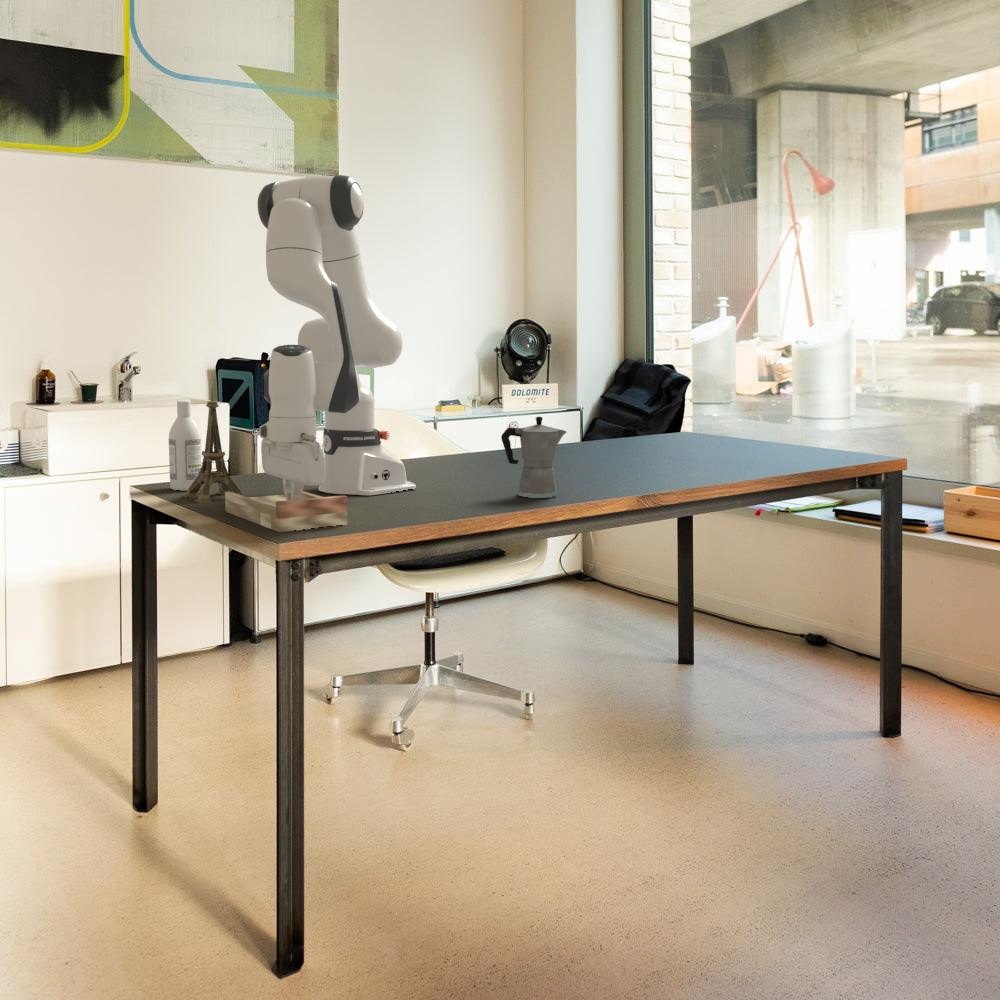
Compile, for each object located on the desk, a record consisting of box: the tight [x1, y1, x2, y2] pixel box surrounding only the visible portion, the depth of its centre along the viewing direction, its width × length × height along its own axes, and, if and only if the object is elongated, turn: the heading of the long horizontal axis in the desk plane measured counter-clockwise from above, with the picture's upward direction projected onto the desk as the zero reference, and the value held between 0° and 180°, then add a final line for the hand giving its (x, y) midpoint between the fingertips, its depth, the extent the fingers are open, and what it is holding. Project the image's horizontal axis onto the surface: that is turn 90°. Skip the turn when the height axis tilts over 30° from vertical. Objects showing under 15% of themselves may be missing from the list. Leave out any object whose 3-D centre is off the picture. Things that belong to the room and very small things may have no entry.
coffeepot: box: [501, 416, 567, 494], centre depth 245 cm, size 15×9×18 cm, turn 109°
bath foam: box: [168, 399, 203, 492], centre depth 245 cm, size 7×7×20 cm
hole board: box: [224, 488, 348, 533], centre depth 213 cm, size 14×25×6 cm, turn 37°
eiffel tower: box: [182, 389, 243, 504], centre depth 234 cm, size 11×11×25 cm
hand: (293, 502), depth 209 cm, fingers closed
